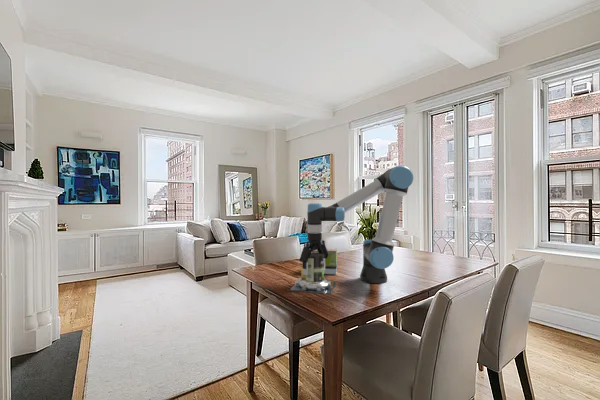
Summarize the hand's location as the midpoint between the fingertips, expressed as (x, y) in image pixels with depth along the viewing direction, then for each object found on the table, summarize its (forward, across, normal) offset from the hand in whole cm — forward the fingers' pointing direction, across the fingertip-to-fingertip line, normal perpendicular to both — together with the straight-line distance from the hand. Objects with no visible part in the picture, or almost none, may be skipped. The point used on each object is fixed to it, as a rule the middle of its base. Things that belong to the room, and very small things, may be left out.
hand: (314, 272), depth 157 cm
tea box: (+8, -26, -15) cm, 31 cm away
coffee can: (+5, 0, 0) cm, 5 cm away
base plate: (+7, 0, 0) cm, 7 cm away
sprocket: (+7, 0, 0) cm, 7 cm away
